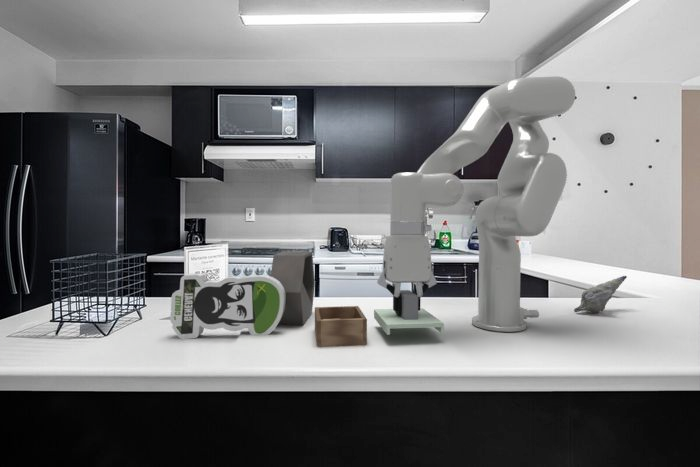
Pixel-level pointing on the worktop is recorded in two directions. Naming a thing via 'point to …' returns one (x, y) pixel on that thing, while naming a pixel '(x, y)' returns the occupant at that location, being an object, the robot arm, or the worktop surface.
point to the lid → (407, 315)
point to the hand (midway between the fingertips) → (406, 313)
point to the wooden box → (340, 326)
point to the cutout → (227, 304)
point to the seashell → (599, 296)
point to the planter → (295, 285)
